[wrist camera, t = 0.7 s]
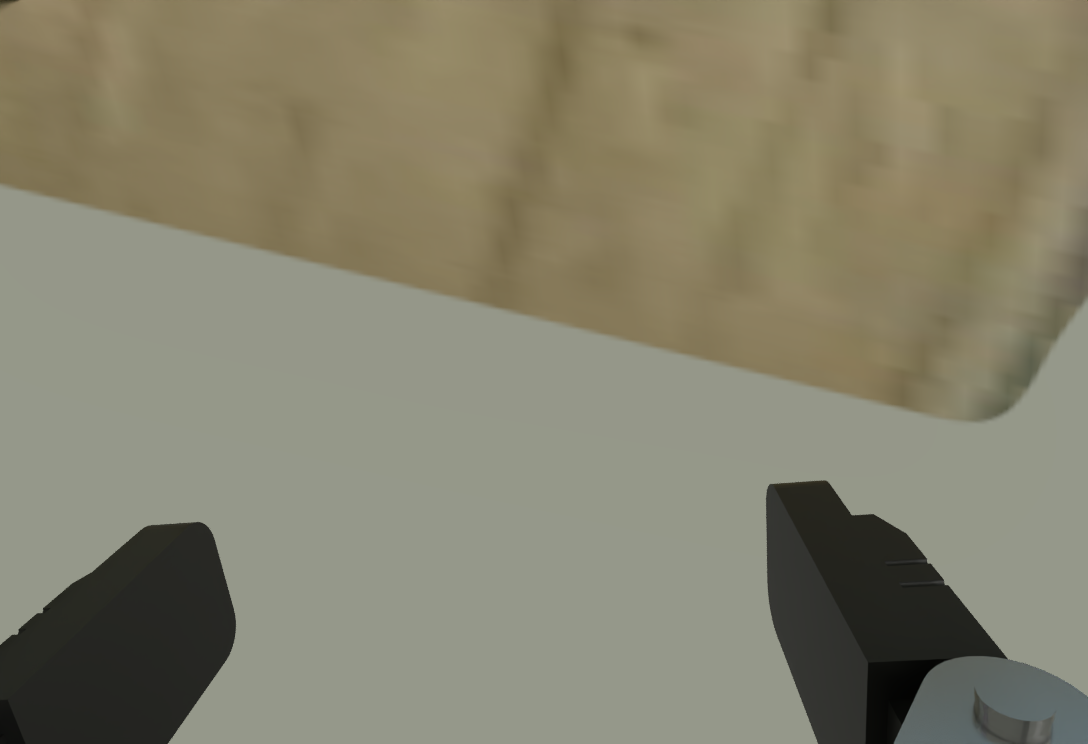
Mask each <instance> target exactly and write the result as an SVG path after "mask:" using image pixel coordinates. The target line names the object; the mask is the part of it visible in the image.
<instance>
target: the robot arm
mask: <svg viewBox="0 0 1088 744" xmlns="http://www.w3.org/2000/svg"><path fill="white" fill-rule="evenodd" d="M766 516H767V517H766V519H767V577H768V595H769V604H770V610H771V615H772V620H773V624H774V628H775V631H776V634H777V637H778V639H779V642H780V644H781V647H782V650H783V652H784V655H785V658H786V660H787V663H788V665H789V668H790V670H791V673H792V676H793V679H794V681H795V684H796V687H797V689H798V692H799V694H800V697H801V699H802V702H803V705H804V708H805V710H806V713H807V716H808V718H809V721H810V723H811V726H812V729H813V731H814V734H815V736H816V739H817V742H818V744H1088V697H1087V696H1086V695H1085V694H1083V693H1082V692H1081V691H1079V690H1078V689H1077V688H1075V687H1074V686H1072V685H1071V684H1069V683H1067V682H1065V681H1064V680H1062V679H1060V678H1058V677H1057V676H1054V675H1052V674H1050V673H1048V672H1046V671H1044V670H1041V669H1039V668H1036V667H1033V666H1030V665H1028V664H1024V663H1020V662H1017V661H1013V660H1008V659H1007V657H1006V656H1005V655H1004V654H1003V652H1002V651H1001V650H1000V649H999V647H998V646H997V645H996V644H995V642H994V641H993V640H992V639H991V638H990V636H989V635H988V634H987V633H986V631H985V630H984V629H983V628H982V627H981V625H980V624H979V623H978V621H977V620H976V619H975V618H974V617H973V615H972V614H971V613H970V612H969V611H968V609H967V608H966V607H965V606H964V604H963V603H962V602H961V601H960V599H959V598H958V597H957V596H956V594H955V593H954V592H953V591H952V589H951V588H950V587H949V586H948V585H945V584H944V580H943V578H942V577H941V576H940V574H939V573H938V572H937V571H936V570H935V568H934V567H933V566H932V565H931V564H928V563H927V558H926V557H925V556H924V555H923V553H922V552H921V551H920V550H919V549H918V547H917V546H916V545H915V544H914V542H913V541H912V540H911V539H910V537H909V536H908V535H907V534H906V533H904V532H902V531H901V530H899V529H898V528H896V527H894V526H892V525H891V524H889V523H887V522H886V521H884V520H882V519H881V518H879V517H877V516H875V515H874V514H869V515H855V516H854V515H853V516H852V515H851V514H850V512H849V511H848V509H847V508H846V506H845V505H844V504H843V502H842V501H841V499H840V498H839V497H838V495H837V494H836V492H835V491H834V489H833V488H832V487H831V485H830V484H829V483H828V482H827V481H809V482H795V483H781V484H770V485H769V486H768V489H767V496H766ZM235 631H236V620H235V613H234V608H233V605H232V601H231V598H230V594H229V590H228V587H227V583H226V580H225V576H224V572H223V569H222V565H221V562H220V558H219V554H218V550H217V547H216V544H215V540H214V537H213V534H212V532H211V531H210V529H209V528H208V527H207V526H206V525H205V524H203V523H200V522H194V523H179V524H164V525H151V526H147V527H145V528H143V529H142V530H140V531H139V532H138V533H137V534H136V535H135V536H133V537H132V538H131V539H130V540H129V541H128V542H126V544H124V545H123V546H122V547H121V548H120V549H118V550H117V551H116V552H115V553H114V554H113V555H111V556H110V557H109V558H108V559H107V560H106V561H105V562H104V563H102V564H101V565H100V566H99V567H98V568H96V569H95V570H94V571H93V572H92V573H90V574H88V575H86V576H85V577H83V578H81V579H79V580H78V581H76V582H74V583H72V584H71V585H70V586H69V587H68V588H66V590H64V591H63V592H62V593H61V594H59V595H58V596H57V597H56V598H55V599H54V600H52V601H51V602H50V603H49V604H48V605H47V606H45V607H44V608H43V613H38V614H36V615H35V616H34V617H32V618H31V619H30V620H29V621H28V622H27V623H26V624H24V625H23V626H22V627H21V628H20V629H19V633H18V635H11V636H10V637H9V638H8V639H7V640H6V641H4V642H3V643H2V644H1V645H0V744H168V743H169V741H170V739H171V738H172V737H173V735H174V734H175V733H176V731H177V730H178V728H179V727H180V725H181V724H182V723H183V721H184V720H185V718H186V717H187V715H188V714H189V713H190V711H191V710H192V708H193V707H194V705H195V704H196V703H197V701H198V700H199V698H200V697H201V695H202V694H203V693H204V691H205V690H206V688H207V687H208V686H209V684H210V683H211V681H212V680H213V678H214V677H215V675H216V674H217V673H218V671H219V670H220V668H221V667H222V666H223V664H224V663H225V661H226V660H227V658H228V656H229V654H230V652H231V649H232V647H233V643H234V639H235Z"/></svg>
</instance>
